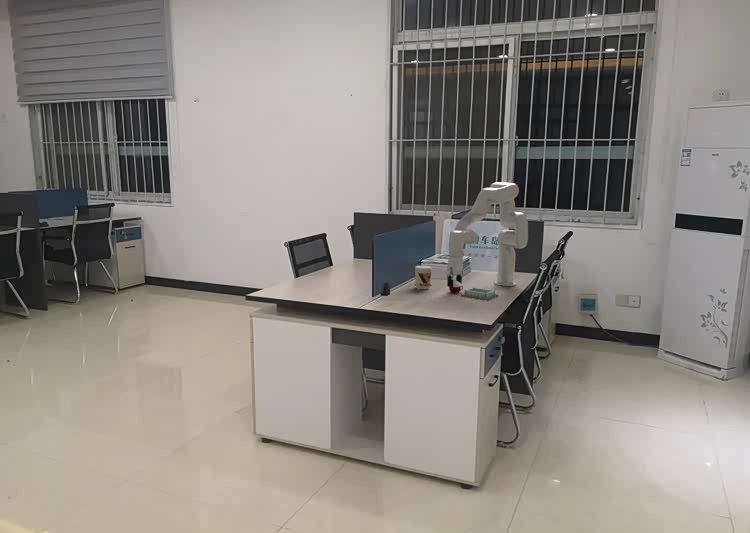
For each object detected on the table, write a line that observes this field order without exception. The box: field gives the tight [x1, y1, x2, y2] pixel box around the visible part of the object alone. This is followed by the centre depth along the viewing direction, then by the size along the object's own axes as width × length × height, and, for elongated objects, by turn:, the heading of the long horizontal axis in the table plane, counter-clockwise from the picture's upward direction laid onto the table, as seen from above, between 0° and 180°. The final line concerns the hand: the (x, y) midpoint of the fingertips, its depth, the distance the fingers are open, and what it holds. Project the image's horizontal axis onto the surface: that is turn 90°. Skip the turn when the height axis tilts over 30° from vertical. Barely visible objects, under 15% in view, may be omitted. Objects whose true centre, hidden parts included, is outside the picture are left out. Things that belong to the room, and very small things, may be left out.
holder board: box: [460, 286, 500, 301], centre depth 303 cm, size 14×15×3 cm
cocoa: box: [448, 279, 464, 294], centre depth 311 cm, size 10×6×12 cm, turn 80°
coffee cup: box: [414, 265, 433, 290], centre depth 319 cm, size 9×9×12 cm
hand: (454, 285), depth 311 cm, fingers open, 9 cm apart
